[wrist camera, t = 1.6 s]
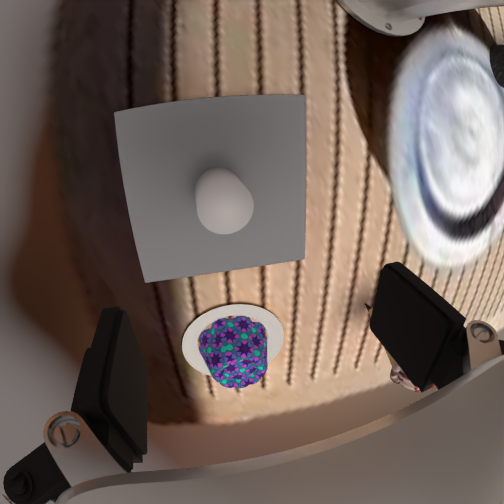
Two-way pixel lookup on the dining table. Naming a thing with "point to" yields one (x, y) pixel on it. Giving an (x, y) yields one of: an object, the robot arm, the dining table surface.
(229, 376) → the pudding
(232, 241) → the lid
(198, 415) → the dining table surface
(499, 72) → the travel mug
